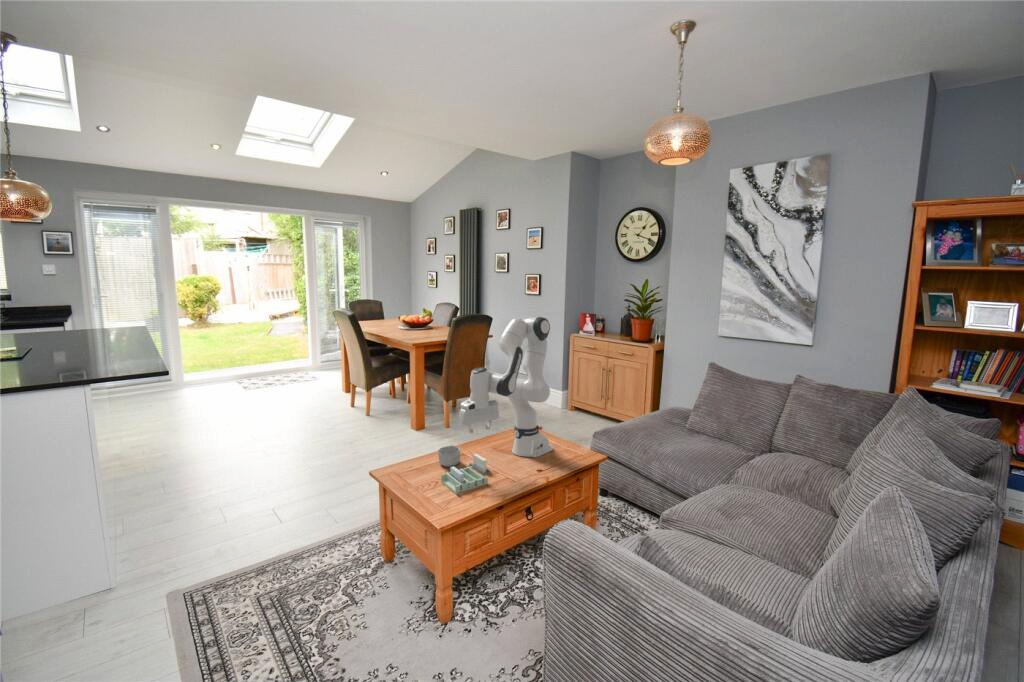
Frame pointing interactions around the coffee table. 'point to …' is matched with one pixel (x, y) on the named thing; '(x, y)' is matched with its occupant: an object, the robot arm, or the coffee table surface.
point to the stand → (480, 469)
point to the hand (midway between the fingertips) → (479, 430)
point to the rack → (462, 479)
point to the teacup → (449, 455)
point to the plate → (479, 462)
